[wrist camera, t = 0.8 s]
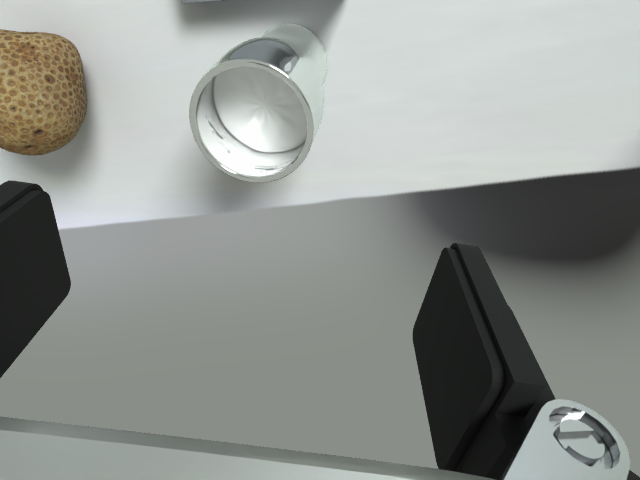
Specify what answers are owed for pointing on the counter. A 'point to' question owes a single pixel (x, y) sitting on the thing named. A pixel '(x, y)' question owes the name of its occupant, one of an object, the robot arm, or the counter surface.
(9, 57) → the natural sponge
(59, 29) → the counter surface
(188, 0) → the guarded tray
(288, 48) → the beer glass
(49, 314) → the robot arm
